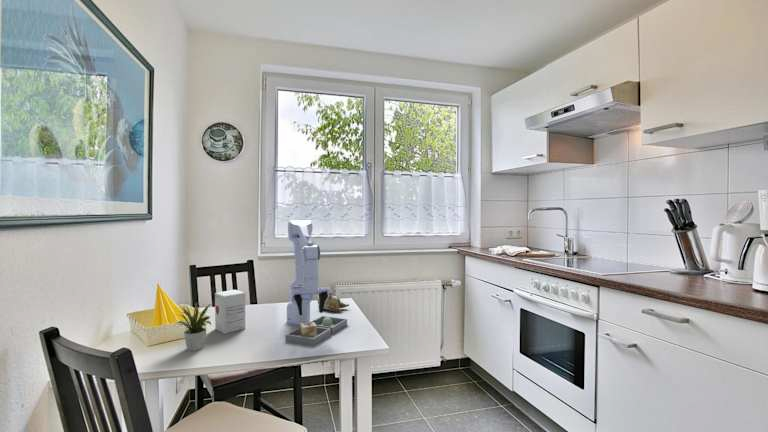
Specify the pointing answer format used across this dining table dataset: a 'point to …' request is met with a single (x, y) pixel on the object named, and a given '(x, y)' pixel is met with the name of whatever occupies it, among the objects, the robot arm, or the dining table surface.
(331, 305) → the ceramic sculpture
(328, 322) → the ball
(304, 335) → the letter cube
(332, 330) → the tray far
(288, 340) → the tray near
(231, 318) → the supplement box
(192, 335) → the house plant
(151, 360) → the dining table surface
